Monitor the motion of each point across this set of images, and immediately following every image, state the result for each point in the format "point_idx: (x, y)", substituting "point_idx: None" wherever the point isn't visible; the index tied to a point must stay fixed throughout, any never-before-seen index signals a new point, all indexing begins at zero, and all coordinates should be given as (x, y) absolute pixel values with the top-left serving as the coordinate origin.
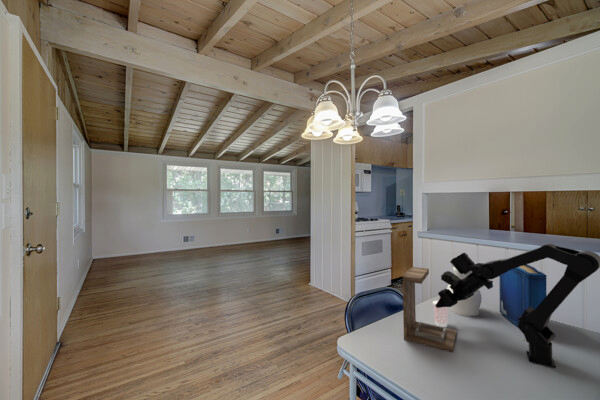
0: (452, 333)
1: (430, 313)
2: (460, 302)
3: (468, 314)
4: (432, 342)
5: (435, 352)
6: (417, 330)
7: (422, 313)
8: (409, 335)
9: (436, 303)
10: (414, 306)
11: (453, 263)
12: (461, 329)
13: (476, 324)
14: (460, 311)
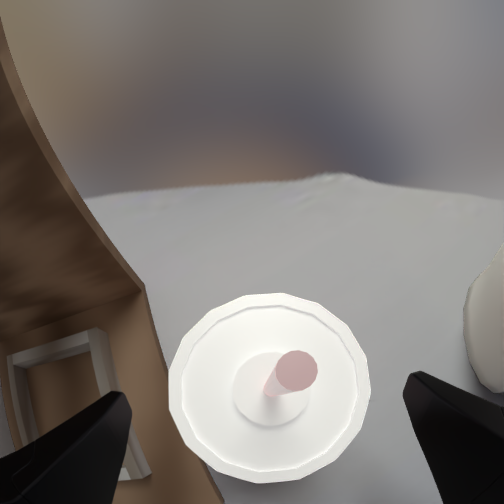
0: (161, 502)
1: (352, 265)
2: None
3: (488, 383)
4: (19, 438)
5: (7, 454)
6: (17, 362)
7: (311, 242)
8: (10, 344)
9: (218, 359)
10: (67, 243)
11: None
12: (301, 493)
13: (430, 475)
14: (480, 354)
